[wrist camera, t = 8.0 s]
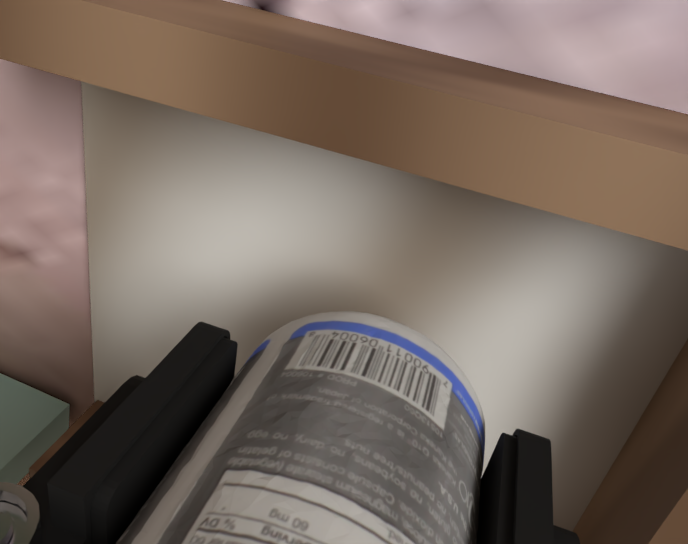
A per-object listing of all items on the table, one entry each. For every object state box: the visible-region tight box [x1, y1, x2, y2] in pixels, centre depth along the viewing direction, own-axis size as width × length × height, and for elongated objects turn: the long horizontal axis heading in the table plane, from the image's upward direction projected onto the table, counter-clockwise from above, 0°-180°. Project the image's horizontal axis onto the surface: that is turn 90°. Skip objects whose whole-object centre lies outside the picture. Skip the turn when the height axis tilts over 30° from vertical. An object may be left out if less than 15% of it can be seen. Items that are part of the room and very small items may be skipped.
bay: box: [0, 0, 688, 544], centre depth 12 cm, size 14×12×3 cm
